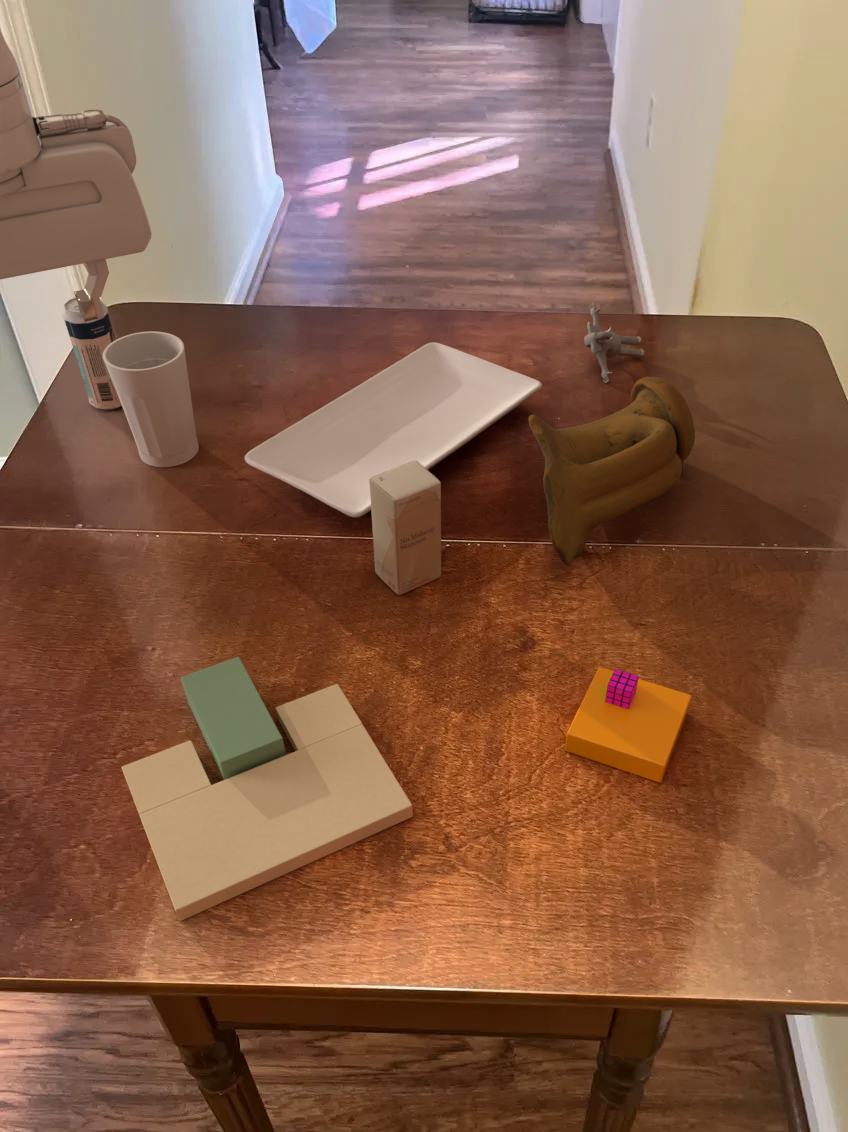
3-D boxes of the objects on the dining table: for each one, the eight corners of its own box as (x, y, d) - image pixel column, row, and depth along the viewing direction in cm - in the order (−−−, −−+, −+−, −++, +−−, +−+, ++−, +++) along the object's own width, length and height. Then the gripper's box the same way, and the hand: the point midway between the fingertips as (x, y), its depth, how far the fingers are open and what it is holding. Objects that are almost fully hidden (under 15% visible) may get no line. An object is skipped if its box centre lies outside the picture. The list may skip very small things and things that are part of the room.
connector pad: (287, 762, 78) (282, 738, 76) (227, 787, 76) (220, 763, 74) (244, 680, 84) (238, 655, 82) (187, 701, 82) (179, 677, 80)
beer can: (141, 397, 115) (115, 300, 107) (111, 416, 112) (81, 318, 104) (111, 386, 117) (83, 290, 108) (81, 405, 114) (49, 307, 105)
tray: (243, 481, 104) (237, 453, 101) (433, 362, 121) (432, 336, 119) (360, 544, 97) (357, 516, 94) (545, 409, 114) (546, 382, 112)
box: (398, 597, 91) (391, 501, 83) (373, 572, 94) (365, 477, 86) (444, 575, 93) (442, 480, 86) (419, 551, 96) (415, 457, 88)
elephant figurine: (662, 377, 120) (608, 371, 114) (628, 395, 125) (575, 390, 119) (647, 299, 121) (593, 290, 115) (614, 320, 125) (561, 312, 120)
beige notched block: (179, 921, 68) (175, 910, 67) (125, 778, 76) (121, 766, 75) (413, 816, 74) (412, 805, 73) (339, 695, 83) (337, 683, 82)
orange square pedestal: (687, 712, 82) (696, 677, 79) (660, 783, 76) (668, 749, 73) (596, 683, 84) (601, 648, 81) (564, 751, 79) (568, 716, 76)
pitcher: (449, 418, 99) (632, 336, 104) (484, 528, 106) (654, 447, 111) (531, 463, 84) (740, 366, 89) (566, 589, 91) (758, 492, 96)
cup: (118, 465, 106) (87, 364, 97) (152, 425, 111) (126, 327, 103) (186, 476, 104) (161, 375, 96) (218, 435, 110) (197, 336, 101)
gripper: (112, 91, 68) (155, 284, 78) (-222, 136, 60) (-128, 342, 70) (137, 119, 64) (179, 318, 74) (-216, 171, 57) (-117, 384, 66)
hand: (27, 331), depth 72 cm, fingers open, 8 cm apart
